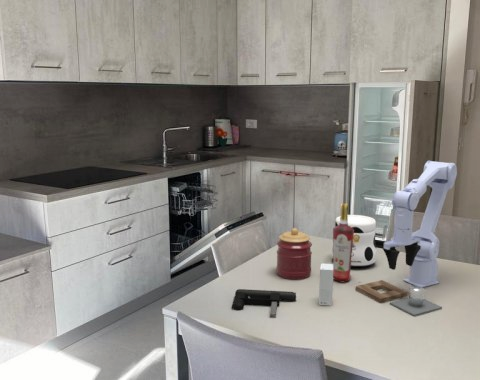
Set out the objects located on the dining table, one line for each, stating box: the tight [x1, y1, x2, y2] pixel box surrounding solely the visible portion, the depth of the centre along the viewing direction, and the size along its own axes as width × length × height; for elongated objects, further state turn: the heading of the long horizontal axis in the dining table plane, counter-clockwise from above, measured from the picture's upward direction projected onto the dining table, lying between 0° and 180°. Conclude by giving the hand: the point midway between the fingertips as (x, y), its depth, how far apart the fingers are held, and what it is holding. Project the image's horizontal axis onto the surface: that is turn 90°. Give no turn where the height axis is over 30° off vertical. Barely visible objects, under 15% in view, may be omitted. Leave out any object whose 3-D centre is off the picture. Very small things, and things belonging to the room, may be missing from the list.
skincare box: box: [318, 263, 334, 306], centre depth 155 cm, size 6×4×12 cm
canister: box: [276, 227, 313, 280], centre depth 179 cm, size 13×13×18 cm
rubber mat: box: [389, 297, 443, 317], centre depth 152 cm, size 12×10×1 cm
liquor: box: [332, 202, 354, 283], centre depth 172 cm, size 7×7×28 cm
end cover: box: [408, 285, 425, 308], centre depth 152 cm, size 4×4×6 cm
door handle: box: [231, 288, 297, 319], centre depth 153 cm, size 3×20×16 cm
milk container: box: [331, 214, 378, 268], centre depth 191 cm, size 17×17×18 cm
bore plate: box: [355, 279, 409, 304], centre depth 163 cm, size 12×12×2 cm
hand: (400, 267), depth 161 cm, fingers open, 7 cm apart
